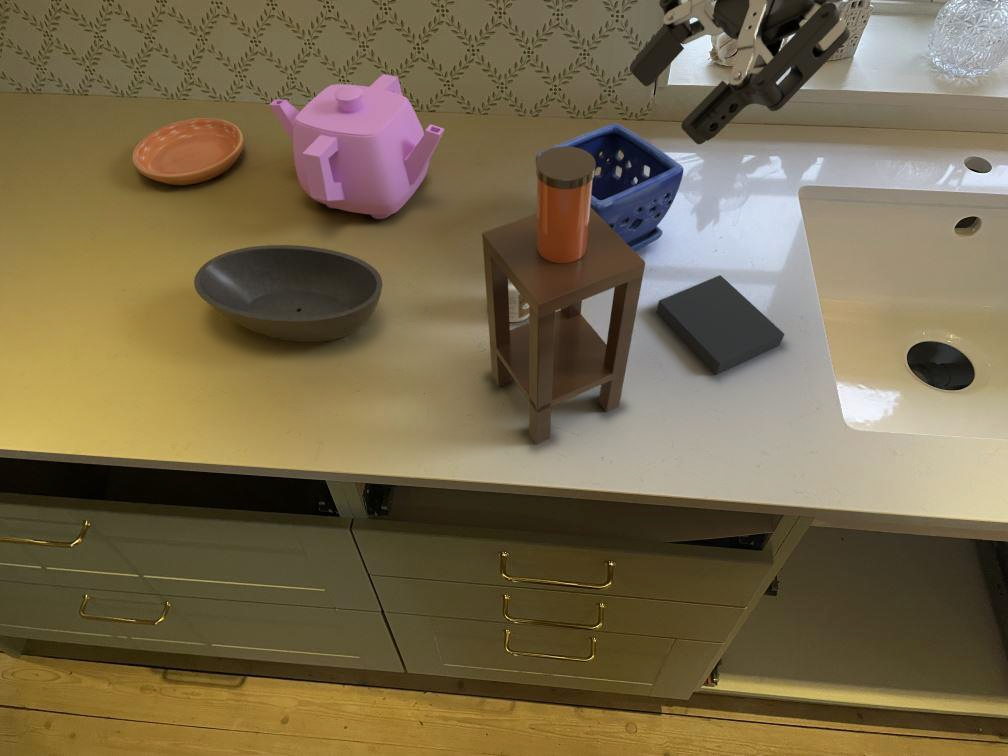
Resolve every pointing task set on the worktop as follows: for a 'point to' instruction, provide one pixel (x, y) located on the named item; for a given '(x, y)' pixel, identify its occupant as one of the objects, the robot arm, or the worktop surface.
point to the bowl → (291, 291)
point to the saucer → (189, 151)
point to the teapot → (359, 146)
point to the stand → (559, 317)
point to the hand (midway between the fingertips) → (662, 105)
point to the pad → (719, 324)
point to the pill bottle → (516, 305)
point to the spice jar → (563, 203)
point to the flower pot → (629, 182)
